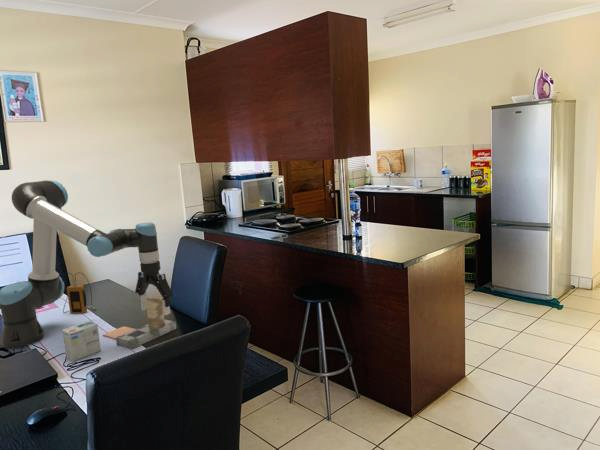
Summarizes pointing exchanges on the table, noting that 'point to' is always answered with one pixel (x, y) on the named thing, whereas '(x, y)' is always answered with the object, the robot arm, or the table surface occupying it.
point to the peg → (155, 312)
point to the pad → (118, 332)
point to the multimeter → (77, 298)
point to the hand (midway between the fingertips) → (155, 312)
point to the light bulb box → (81, 340)
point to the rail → (144, 334)
